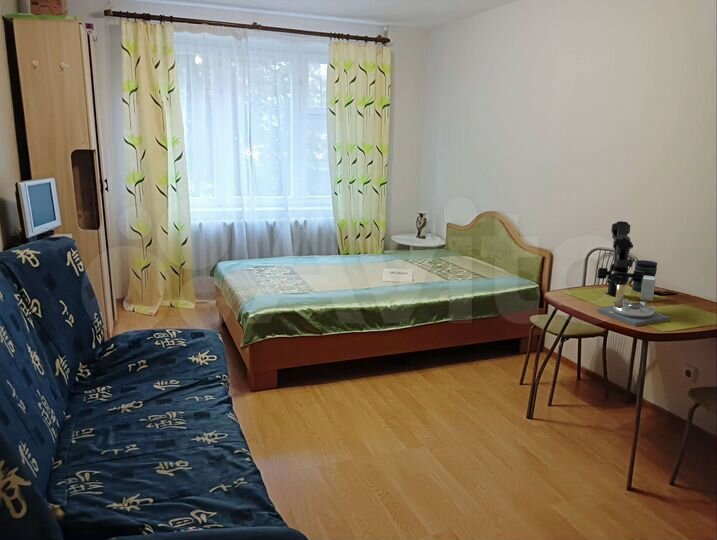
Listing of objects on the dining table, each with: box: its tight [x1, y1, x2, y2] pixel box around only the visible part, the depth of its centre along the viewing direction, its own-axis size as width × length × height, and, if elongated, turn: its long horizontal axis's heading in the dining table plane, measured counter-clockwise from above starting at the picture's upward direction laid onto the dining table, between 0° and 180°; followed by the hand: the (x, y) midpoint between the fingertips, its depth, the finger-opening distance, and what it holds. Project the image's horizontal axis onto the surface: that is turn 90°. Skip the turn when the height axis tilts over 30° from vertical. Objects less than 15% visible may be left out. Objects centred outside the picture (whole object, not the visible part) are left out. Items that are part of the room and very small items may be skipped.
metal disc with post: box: [612, 284, 656, 318], centre depth 229 cm, size 16×16×12 cm
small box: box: [639, 275, 657, 301], centre depth 256 cm, size 8×6×10 cm
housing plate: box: [597, 306, 671, 327], centre depth 230 cm, size 20×20×2 cm
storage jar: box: [632, 259, 658, 293], centre depth 269 cm, size 10×10×15 cm
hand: (618, 290), depth 237 cm, fingers closed
